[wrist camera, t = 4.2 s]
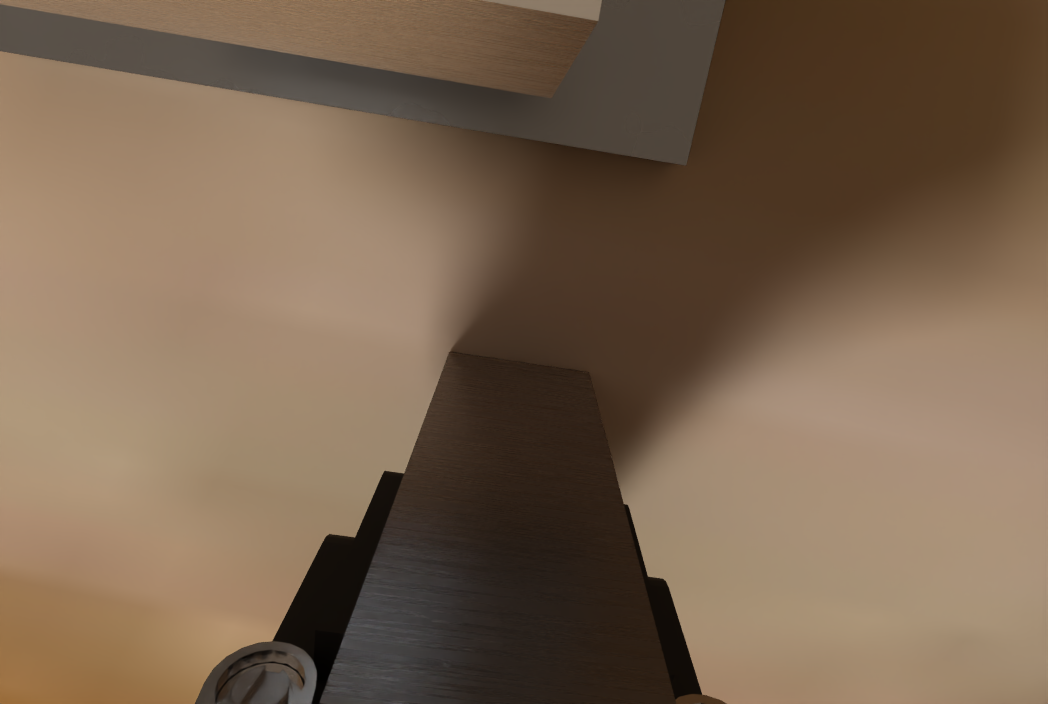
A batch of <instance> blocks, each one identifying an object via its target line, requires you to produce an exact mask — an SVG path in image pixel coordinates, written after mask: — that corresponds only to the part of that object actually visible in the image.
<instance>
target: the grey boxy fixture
mask: <svg viewBox="0 0 1048 704" xmlns="http://www.w3.org/2000/svg"><path fill="white" fill-rule="evenodd" d="M724 4H725V0H0V51H3V52H9V53H15V54H21V55H27V56H33V57H39V58H45V59H51V60H57V61H63V62H69V63H75V64H81V65H87V66H93V67H99V68H105V69H111V70H117V71H123V72H129V73H135V74H141V75H147V76H153V77H159V78H165V79H171V80H177V81H183V82H189V83H195V84H201V85H207V86H213V87H219V88H225V89H231V90H237V91H243V92H249V93H255V94H261V95H267V96H273V97H279V98H285V99H291V100H297V101H303V102H309V103H315V104H321V105H327V106H332V107H338V108H344V109H350V110H356V111H362V112H368V113H374V114H380V115H386V116H392V117H398V118H404V119H410V120H416V121H422V122H428V123H434V124H440V125H446V126H452V127H458V128H464V129H470V130H476V131H482V132H488V133H494V134H500V135H506V136H512V137H518V138H524V139H530V140H536V141H542V142H548V143H554V144H560V145H566V146H572V147H578V148H584V149H590V150H596V151H602V152H608V153H614V154H620V155H626V156H632V157H638V158H644V159H650V160H656V161H662V162H668V163H674V164H680V165H687V160H688V156H689V152H690V148H691V144H692V139H693V135H694V131H695V127H696V122H697V118H698V114H699V110H700V106H701V101H702V97H703V93H704V89H705V84H706V80H707V76H708V72H709V68H710V63H711V59H712V55H713V51H714V47H715V42H716V38H717V34H718V30H719V25H720V21H721V17H722V13H723V9H724Z"/></svg>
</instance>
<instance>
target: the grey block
mask: <svg viewBox="0 0 1048 704" xmlns="http://www.w3.org/2000/svg"><path fill="white" fill-rule="evenodd" d="M319 704H676V701H675V697H674V693H673V689H672V686H671V682H670V678H669V674H668V670H667V667H666V663H665V659H664V655H663V651H662V648H661V644H660V640H659V636H658V632H657V629H656V625H655V621H654V617H653V614H652V610H651V606H650V602H649V598H648V595H647V591H646V587H645V583H644V579H643V576H642V572H641V568H640V564H639V560H638V557H637V553H636V549H635V545H634V541H633V538H632V534H631V530H630V526H629V522H628V519H627V515H626V511H625V507H624V503H623V500H622V496H621V492H620V488H619V485H618V481H617V477H616V473H615V469H614V466H613V462H612V458H611V454H610V450H609V447H608V443H607V439H606V435H605V431H604V428H603V424H602V420H601V416H600V412H599V409H598V405H597V401H596V397H595V393H594V390H593V386H592V382H591V378H590V374H589V372H582V371H576V370H569V369H562V368H555V367H549V366H542V365H535V364H528V363H522V362H515V361H508V360H501V359H494V358H488V357H481V356H474V355H467V354H461V353H454V352H449V354H448V357H447V360H446V362H445V365H444V368H443V371H442V373H441V376H440V379H439V381H438V384H437V387H436V389H435V392H434V395H433V398H432V400H431V403H430V406H429V408H428V411H427V414H426V416H425V419H424V422H423V425H422V427H421V430H420V433H419V435H418V438H417V441H416V443H415V446H414V449H413V452H412V454H411V457H410V460H409V462H408V465H407V468H406V470H405V473H404V476H403V479H402V481H401V484H400V487H399V489H398V492H397V495H396V497H395V500H394V503H393V506H392V508H391V511H390V514H389V516H388V519H387V522H386V524H385V527H384V530H383V533H382V535H381V538H380V541H379V543H378V546H377V549H376V551H375V554H374V557H373V560H372V562H371V565H370V568H369V570H368V573H367V576H366V578H365V581H364V584H363V587H362V589H361V592H360V595H359V597H358V600H357V603H356V605H355V608H354V611H353V614H352V616H351V619H350V622H349V624H348V627H347V630H346V632H345V635H344V638H343V641H342V643H341V646H340V649H339V651H338V654H337V657H336V659H335V662H334V665H333V668H332V670H331V673H330V676H329V678H328V681H327V684H326V686H325V689H324V692H323V695H322V697H321V700H320V703H319Z"/></svg>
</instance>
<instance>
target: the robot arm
mask: <svg viewBox="0 0 1048 704" xmlns="http://www.w3.org/2000/svg"><path fill="white" fill-rule="evenodd" d="M403 476H404V474H403V473H396V472H389V471H384V473H383V475H382V477H381V479H380V482H379V484H378V486H377V489H376V491H375V493H374V495H373V498H372V500H371V502H370V505H369V507H368V509H367V512H366V514H365V516H364V519H363V521H362V523H361V525H360V528H359V530H358V532H357V535H356V537H355V538H354V537H347V536H339V535H332V534H329V535H327V536H326V538H325V539H324V541H323V543H322V545H321V547H320V549H319V551H318V553H317V555H316V557H315V559H314V561H313V563H312V564H311V566H310V568H309V570H308V572H307V574H306V576H305V578H304V580H303V582H302V584H301V586H300V588H299V590H298V592H297V594H296V596H295V598H294V600H293V602H292V604H291V606H290V608H289V610H288V612H287V614H286V616H285V618H284V620H283V621H282V623H281V625H280V627H279V629H278V631H277V633H276V635H275V637H274V639H273V641H272V642H261V643H256V644H253V645H250V646H247V647H244V648H241V649H239V650H238V651H236V652H234V653H232V654H230V655H229V656H227V657H226V658H225V659H223V660H222V661H221V662H220V663H219V664H218V665H217V666H216V667H215V668H214V669H213V670H212V672H211V673H210V675H209V676H208V678H207V679H206V681H205V683H204V685H203V687H202V689H201V691H200V694H199V696H198V698H197V700H196V702H195V704H319V703H320V700H321V697H322V695H323V692H324V689H325V686H326V684H327V681H328V678H329V676H330V673H331V670H332V668H333V665H334V662H335V659H336V657H337V654H338V651H339V649H340V646H341V643H342V641H343V638H344V635H345V632H346V630H347V627H348V624H349V622H350V619H351V616H352V614H353V611H354V608H355V605H356V603H357V600H358V597H359V595H360V592H361V589H362V587H363V584H364V581H365V578H366V576H367V573H368V570H369V568H370V565H371V562H372V560H373V557H374V554H375V551H376V549H377V546H378V543H379V541H380V538H381V535H382V533H383V530H384V527H385V524H386V522H387V519H388V516H389V514H390V511H391V508H392V506H393V503H394V500H395V497H396V495H397V492H398V489H399V487H400V484H401V481H402V479H403ZM624 507H625V511H626V515H627V519H628V522H629V526H630V530H631V534H632V538H633V541H634V545H635V549H636V553H637V557H638V560H639V564H640V568H641V572H642V576H643V579H644V583H645V587H646V591H647V595H648V598H649V602H650V606H651V610H652V614H653V617H654V621H655V625H656V629H657V632H658V636H659V640H660V644H661V648H662V651H663V655H664V659H665V663H666V667H667V670H668V674H669V678H670V682H671V686H672V689H673V693H674V697H675V701H676V704H726V703H725V702H723V701H721V700H719V699H716V698H713V697H710V696H707V695H702V692H701V689H700V686H699V683H698V680H697V676H696V673H695V670H694V667H693V664H692V661H691V657H690V654H689V651H688V648H687V645H686V641H685V638H684V635H683V632H682V629H681V625H680V622H679V619H678V616H677V613H676V609H675V606H674V603H673V600H672V597H671V594H670V590H669V587H668V585H667V583H666V581H665V580H664V579H660V578H653V577H648V575H647V572H646V568H645V565H644V561H643V557H642V554H641V550H640V546H639V543H638V539H637V535H636V532H635V528H634V524H633V521H632V517H631V513H630V510H629V507H628V505H625V504H624Z"/></svg>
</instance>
